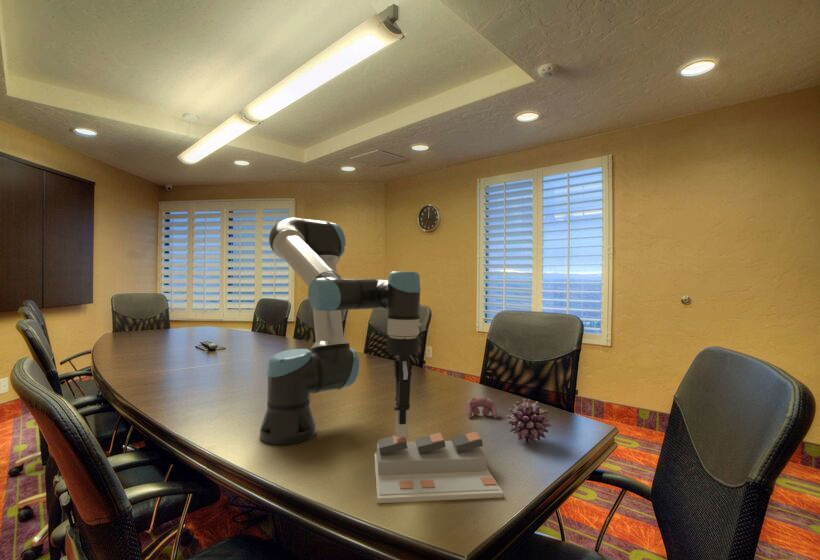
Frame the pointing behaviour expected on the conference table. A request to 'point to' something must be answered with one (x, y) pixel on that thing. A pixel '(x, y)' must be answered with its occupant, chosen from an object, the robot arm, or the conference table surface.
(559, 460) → the conference table surface
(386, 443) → the left switch
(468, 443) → the right switch
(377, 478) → the switch panel
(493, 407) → the video game controller
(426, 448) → the middle switch
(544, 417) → the flower
